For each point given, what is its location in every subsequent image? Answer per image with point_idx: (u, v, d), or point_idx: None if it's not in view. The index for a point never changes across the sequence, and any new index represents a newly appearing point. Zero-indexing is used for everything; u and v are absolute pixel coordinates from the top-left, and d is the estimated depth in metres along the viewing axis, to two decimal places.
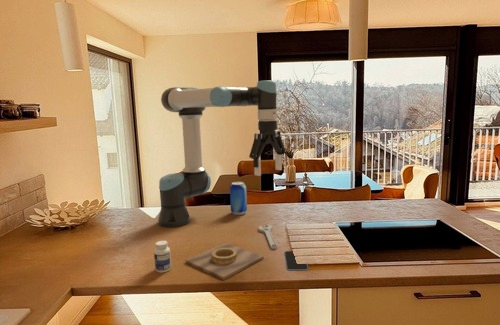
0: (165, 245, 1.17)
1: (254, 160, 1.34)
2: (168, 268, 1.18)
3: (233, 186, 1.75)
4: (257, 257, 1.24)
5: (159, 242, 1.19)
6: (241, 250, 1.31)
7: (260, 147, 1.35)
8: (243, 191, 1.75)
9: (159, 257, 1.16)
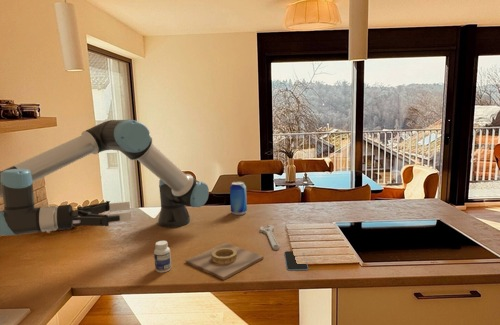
0: (165, 245, 1.17)
1: None
2: (168, 268, 1.18)
3: (233, 186, 1.75)
4: (257, 257, 1.24)
5: (159, 242, 1.19)
6: (241, 250, 1.31)
7: None
8: (243, 191, 1.75)
9: (159, 257, 1.16)
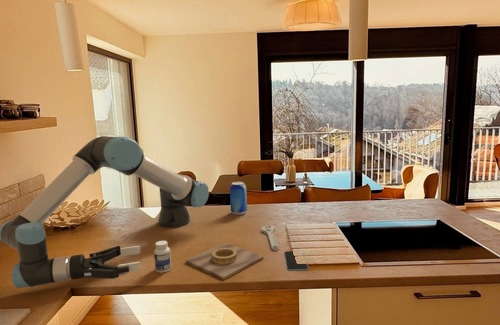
0: (165, 245, 1.17)
1: None
2: (168, 268, 1.18)
3: (233, 186, 1.75)
4: (257, 257, 1.24)
5: (159, 242, 1.19)
6: (241, 250, 1.31)
7: None
8: (243, 191, 1.75)
9: (159, 257, 1.16)
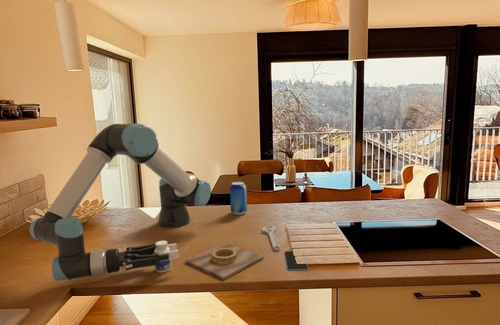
0: (165, 245, 1.17)
1: None
2: (168, 268, 1.18)
3: (233, 186, 1.75)
4: (257, 257, 1.24)
5: (159, 242, 1.19)
6: (241, 250, 1.31)
7: None
8: (243, 191, 1.75)
9: None
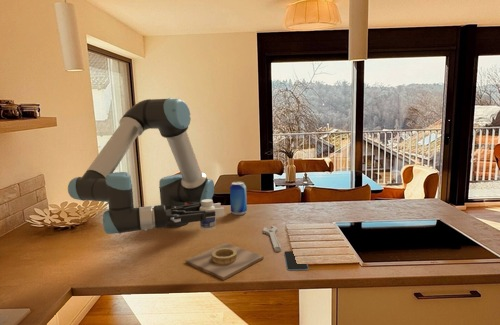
0: (211, 202, 1.17)
1: None
2: (213, 226, 1.18)
3: (233, 186, 1.75)
4: (257, 257, 1.24)
5: (204, 200, 1.19)
6: (241, 250, 1.31)
7: None
8: (243, 191, 1.75)
9: None
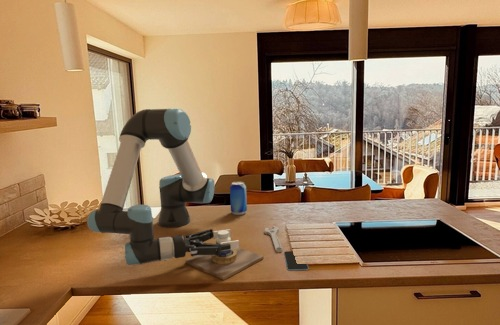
0: (227, 234, 1.22)
1: None
2: None
3: (233, 186, 1.75)
4: (257, 257, 1.24)
5: (220, 231, 1.24)
6: (241, 250, 1.31)
7: None
8: (243, 191, 1.75)
9: None
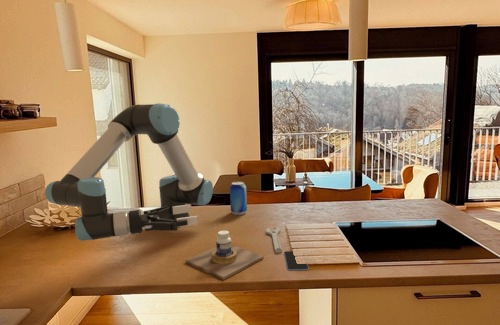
0: (227, 234, 1.22)
1: None
2: None
3: (233, 186, 1.75)
4: (257, 257, 1.24)
5: (221, 231, 1.24)
6: (241, 250, 1.31)
7: None
8: (243, 191, 1.75)
9: (222, 246, 1.21)
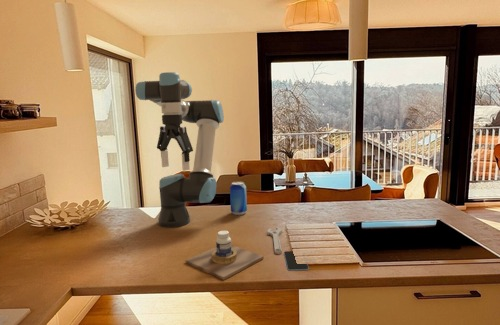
0: (227, 234, 1.22)
1: None
2: None
3: (233, 186, 1.75)
4: (257, 257, 1.24)
5: (221, 231, 1.24)
6: (241, 250, 1.31)
7: None
8: (243, 191, 1.75)
9: (222, 246, 1.21)
